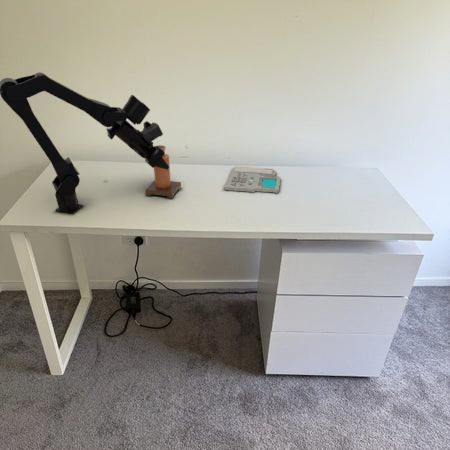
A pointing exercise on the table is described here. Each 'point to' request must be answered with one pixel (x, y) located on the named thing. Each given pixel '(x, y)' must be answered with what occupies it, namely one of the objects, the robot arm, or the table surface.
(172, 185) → the stand
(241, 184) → the office telephone
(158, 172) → the vase
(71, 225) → the table surface
